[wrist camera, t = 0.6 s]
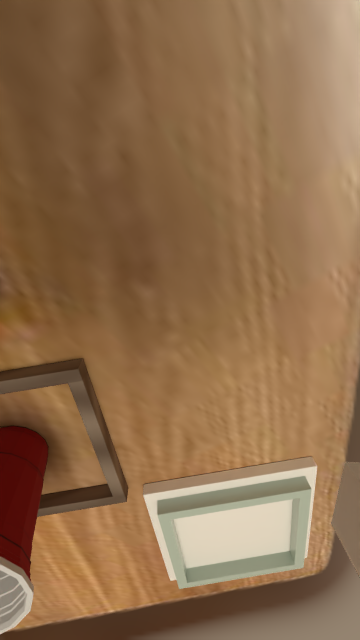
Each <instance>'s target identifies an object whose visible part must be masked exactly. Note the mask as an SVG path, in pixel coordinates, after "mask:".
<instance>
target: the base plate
mask: <svg viewBox="0 0 360 640" xmlns="http://www.w3.org/2000/svg"><path fill="white" fill-rule="evenodd" d="M316 473H317V465H316V463H315V461H314V460H313V458H312V456H311V457H305V458H299V459H293V460H287V461H281V462H275V463H269V464H263V465H257V466H251V467H245V468H239V469H233V470H227V471H221V472H215V473H209V474H203V475H197V476H191V477H185V478H179V479H173V480H167V481H161V482H155V483H149V484H144V489H143V496H144V499H145V502H146V505H147V508H148V512H149V515H150V518H151V521H152V524H153V527H154V530H155V534H156V537H157V540H158V543H159V546H160V549H161V553H162V556H163V559H164V562H165V565H166V568H167V571H168V575H169V578H170V581H172V580H177V583H178V586H179V589H182V588H188V587H194V586H199V585H205V584H211V583H217V582H223V581H229V580H235V579H240V578H246V577H252V576H258V575H264V574H270V573H276V572H282V571H287V570H293V569H299V568H303V566H304V558H307V552H308V544H309V535H310V526H311V517H312V508H313V499H314V491H315V482H316Z"/></svg>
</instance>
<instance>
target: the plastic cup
mask: <svg viewBox="0 0 360 640" xmlns="http://www.w3.org/2000/svg"><path fill="white" fill-rule="evenodd" d="M47 458H48V446H47V444H46V441H45V439H43V438H42V437H41V436H40V435H39V434H38V433H36V432H34V431H32V430H29V429H27V428H23V427H16V426H11V427H3V428H0V634H1V633H3V632H5V631H7V630H9V629H11V628H13V627H15V626H16V625H17V624H18V623H19V622H20V621H21V620H22V619H23V618H24V617H25V616H26V615H27V614H28V613H29V612H30V610H31V605H32V599H33V584H32V583H31V579H30V565H31V561H30V557H31V550H32V540H33V535H34V530H35V525H36V519H37V514H38V509H39V504H40V498H41V493H42V487H43V480H44V479H43V478H44V473H45V469H46V464H47Z"/></svg>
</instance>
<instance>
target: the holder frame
mask: <svg viewBox="0 0 360 640" xmlns="http://www.w3.org/2000/svg"><path fill="white" fill-rule="evenodd" d="M67 383H68V384H69V387H70V389H71V392H72V395H73V397H74V400H75V402H76V405H77V407H78V410H79V412H80V415H81V417H82V420H83V422H84V425H85V427H86V430H87V432H88V435H89V438H90V440H91V443H92V445H93V448H94V450H95V453H96V455H97V458H98V460H99V463H100V465H101V468H102V470H103V473H104V475H105V478H106V480H107V483H108V484H106V485H100V486H94V487H88V488H82V489H76V490H70V491H64V492H58V493H52V494H46V495H41V498H40V504H39V509H38V514H37V517H39V516H45V515H51V514H57V513H63V512H69V511H75V510H81V509H87V508H93V507H99V506H105V505H111V504H117V503H123V502H127V494H128V486H127V484H126V481H125V478H124V475H123V472H122V469H121V466H120V464H119V461H118V458H117V455H116V452H115V449H114V446H113V444H112V441H111V438H110V435H109V432H108V429H107V426H106V424H105V421H104V418H103V415H102V412H101V409H100V406H99V404H98V401H97V398H96V395H95V392H94V389H93V386H92V384H91V381H90V378H89V375H88V372H87V369H86V366H85V363H84V361H83V359H77V360H70V361H64V362H58V363H52V364H46V365H39V366H33V367H27V368H21V369H15V370H9V371H2V372H0V394H5V393H11V392H18V391H24V390H30V389H36V388H42V387H48V386H55V385H61V384H67Z"/></svg>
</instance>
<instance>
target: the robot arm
mask: <svg viewBox="0 0 360 640" xmlns="http://www.w3.org/2000/svg"><path fill="white" fill-rule="evenodd" d="M331 524H332V526H333V528H334V530H335V532H336V533H337V535H338V537H339V539H340V541H341V543H342V545H343V547H344V549H345V551H346V553H347V555H348V556H349V558H350V560H351V562H352V564H353V566H354V568H355V570H356V572H357V574H358V576H359V578H360V463H356V462H345V464H344V469H343V473H342V478H341V482H340V486H339V491H338V495H337V500H336V504H335V509H334V513H333V518H332V522H331Z"/></svg>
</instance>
